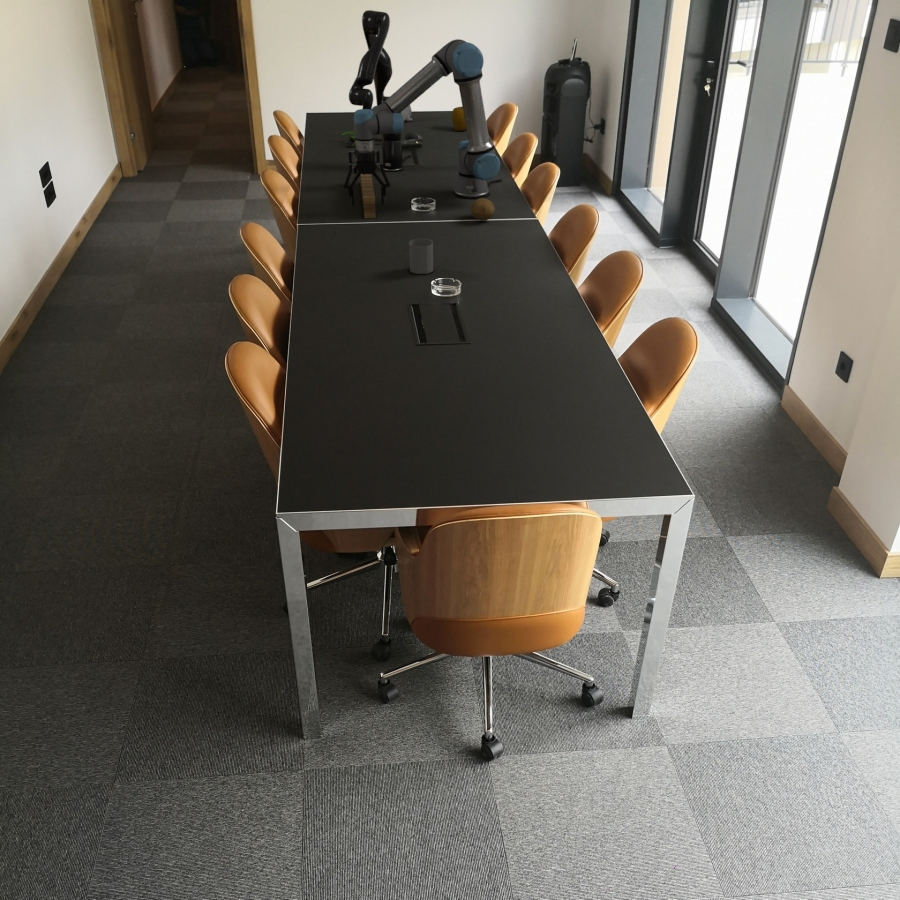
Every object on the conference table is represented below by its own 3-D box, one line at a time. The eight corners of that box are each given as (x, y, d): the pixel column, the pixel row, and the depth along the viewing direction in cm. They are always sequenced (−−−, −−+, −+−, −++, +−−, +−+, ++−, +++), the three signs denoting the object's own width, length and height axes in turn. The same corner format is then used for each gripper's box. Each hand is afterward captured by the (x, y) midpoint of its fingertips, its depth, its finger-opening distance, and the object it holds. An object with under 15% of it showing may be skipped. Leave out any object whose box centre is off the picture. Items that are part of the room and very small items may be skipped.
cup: (409, 265, 311) (408, 238, 306) (432, 265, 312) (431, 238, 307) (410, 274, 304) (409, 246, 299) (433, 273, 305) (433, 246, 299)
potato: (492, 213, 362) (492, 194, 358) (496, 224, 351) (496, 204, 346) (468, 214, 362) (469, 194, 358) (472, 224, 350) (472, 205, 346)
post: (360, 183, 400) (359, 164, 396) (370, 183, 401) (369, 164, 396) (364, 218, 357) (363, 197, 353) (375, 218, 358) (374, 197, 353)
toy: (416, 120, 512) (415, 93, 504) (387, 127, 497) (386, 99, 489) (405, 118, 517) (404, 91, 509) (376, 124, 502) (375, 97, 494)
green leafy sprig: (396, 128, 464) (339, 126, 462) (395, 143, 457) (338, 141, 454) (395, 137, 469) (340, 135, 466) (395, 153, 462) (339, 151, 459)
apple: (471, 132, 486) (471, 108, 479) (451, 132, 486) (451, 108, 479) (470, 128, 495) (471, 104, 488) (452, 128, 495) (452, 104, 488)
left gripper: (346, 139, 378) (349, 177, 387) (379, 138, 379) (381, 176, 388) (346, 135, 384) (348, 172, 393) (379, 134, 385) (380, 171, 394)
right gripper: (335, 153, 345) (339, 207, 357) (395, 152, 347) (397, 206, 359) (335, 149, 351) (339, 202, 363) (394, 147, 353) (396, 200, 365)
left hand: (365, 174), depth 390 cm, fingers open, 7 cm apart
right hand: (368, 204), depth 361 cm, fingers open, 11 cm apart
